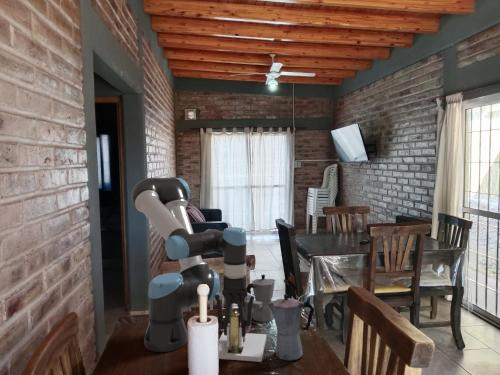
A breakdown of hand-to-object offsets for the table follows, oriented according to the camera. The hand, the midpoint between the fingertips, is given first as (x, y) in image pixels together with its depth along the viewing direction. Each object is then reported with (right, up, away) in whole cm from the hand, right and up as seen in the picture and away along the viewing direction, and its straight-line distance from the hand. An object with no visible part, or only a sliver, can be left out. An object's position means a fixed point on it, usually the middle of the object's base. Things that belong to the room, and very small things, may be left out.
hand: (235, 344), depth 118 cm
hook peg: (0, -3, 0) cm, 3 cm away
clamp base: (+2, -3, +4) cm, 5 cm away
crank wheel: (+3, -1, +5) cm, 6 cm away
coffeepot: (+10, -2, +29) cm, 30 cm away
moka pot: (+18, -3, 0) cm, 19 cm away
